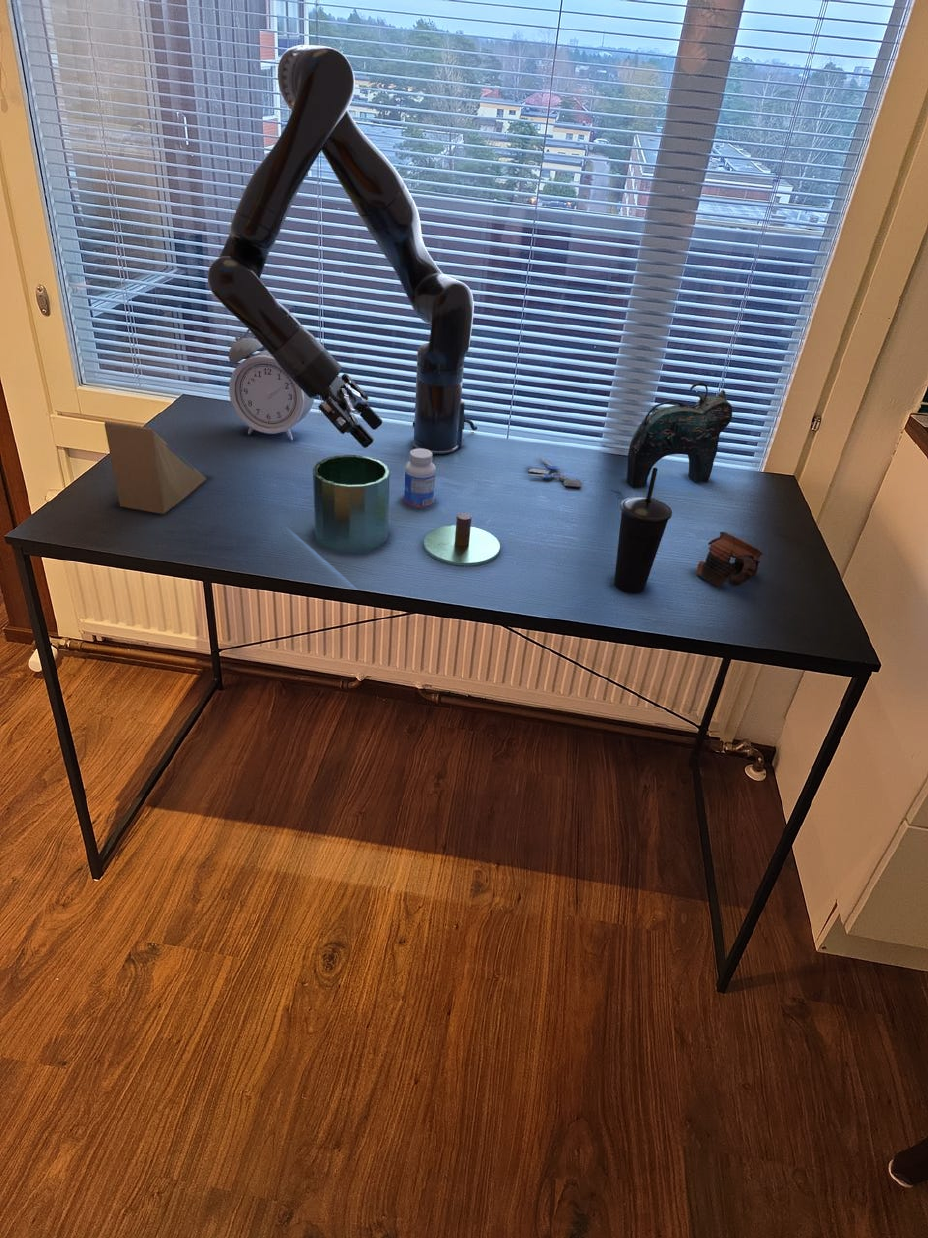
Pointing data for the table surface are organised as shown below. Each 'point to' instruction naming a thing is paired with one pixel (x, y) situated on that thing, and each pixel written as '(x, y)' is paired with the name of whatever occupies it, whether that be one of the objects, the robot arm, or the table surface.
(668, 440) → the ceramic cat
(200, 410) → the table surface
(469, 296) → the robot arm
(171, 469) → the sandwich container
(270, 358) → the alarm clock
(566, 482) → the key chain
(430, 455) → the pill bottle
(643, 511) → the drinking cup
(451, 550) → the lid
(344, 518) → the tin
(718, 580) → the brown wooden hut
